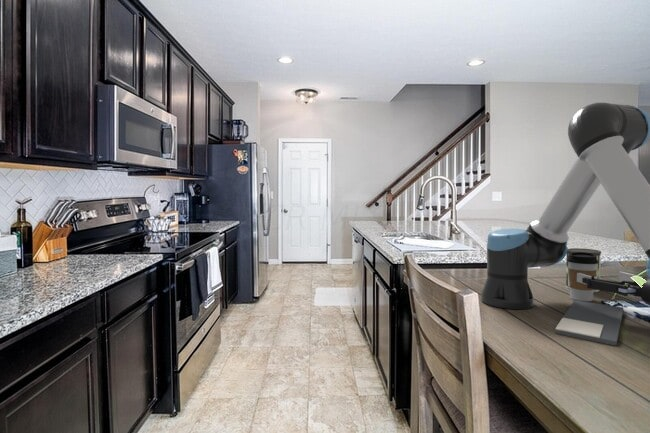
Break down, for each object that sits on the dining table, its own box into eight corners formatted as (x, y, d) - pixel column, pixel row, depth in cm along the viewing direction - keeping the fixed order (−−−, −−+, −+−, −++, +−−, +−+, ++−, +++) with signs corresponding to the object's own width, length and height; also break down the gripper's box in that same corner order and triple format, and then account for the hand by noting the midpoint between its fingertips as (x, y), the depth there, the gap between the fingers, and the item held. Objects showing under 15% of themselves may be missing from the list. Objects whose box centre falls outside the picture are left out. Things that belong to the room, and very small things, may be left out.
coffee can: (559, 285, 137) (560, 248, 136) (588, 285, 136) (589, 248, 135) (575, 292, 127) (576, 252, 126) (607, 292, 126) (608, 252, 125)
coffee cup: (598, 298, 119) (600, 253, 118) (595, 304, 113) (596, 256, 112) (568, 293, 125) (569, 250, 124) (563, 299, 119) (564, 254, 118)
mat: (616, 345, 83) (616, 340, 82) (554, 333, 91) (555, 328, 90) (623, 310, 106) (623, 306, 106) (574, 303, 114) (574, 299, 114)
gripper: (619, 311, 90) (560, 289, 111) (713, 308, 92) (637, 287, 113) (620, 282, 90) (560, 265, 111) (714, 279, 91) (637, 263, 112)
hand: (598, 276), depth 112 cm, fingers open, 13 cm apart
